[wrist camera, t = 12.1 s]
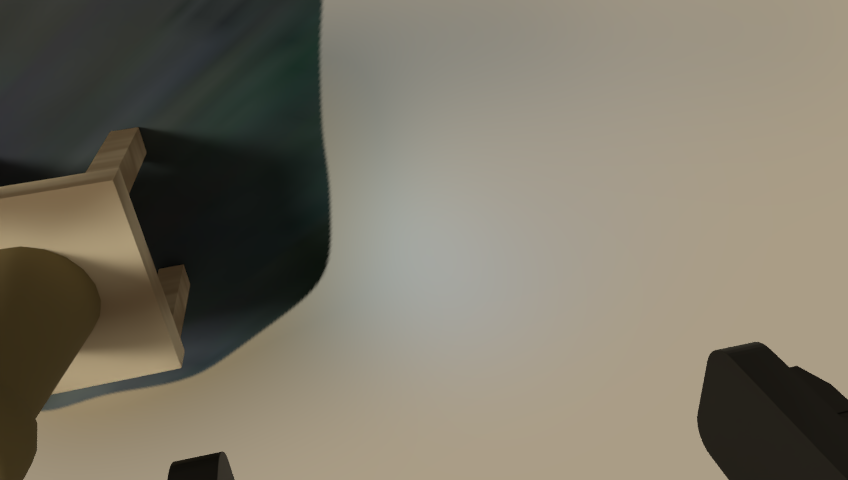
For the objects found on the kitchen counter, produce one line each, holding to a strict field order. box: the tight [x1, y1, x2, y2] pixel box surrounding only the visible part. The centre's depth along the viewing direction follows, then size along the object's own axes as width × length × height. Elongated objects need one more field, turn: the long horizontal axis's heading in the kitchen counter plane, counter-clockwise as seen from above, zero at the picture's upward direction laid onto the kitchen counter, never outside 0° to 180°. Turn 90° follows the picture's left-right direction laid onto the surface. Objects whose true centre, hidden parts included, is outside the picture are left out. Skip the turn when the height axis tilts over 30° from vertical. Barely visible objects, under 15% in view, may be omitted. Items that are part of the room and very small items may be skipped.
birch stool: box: [0, 127, 190, 395], centre depth 35 cm, size 11×11×8 cm
